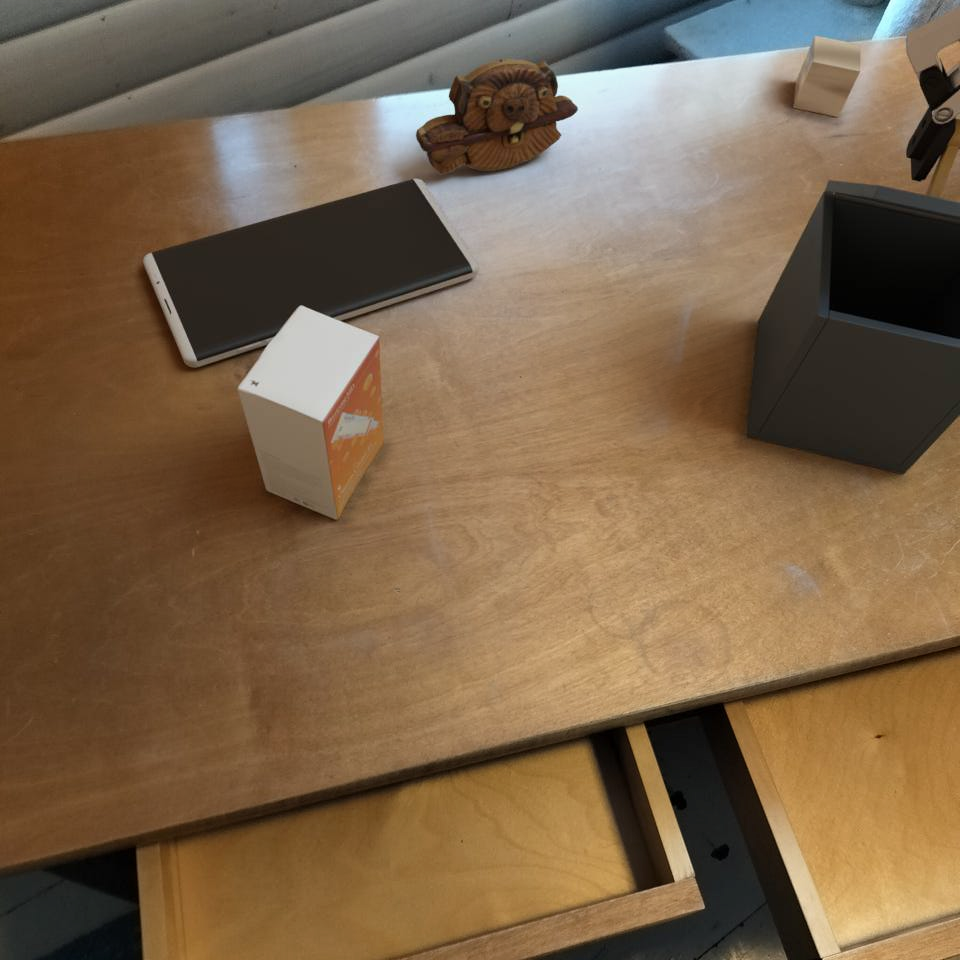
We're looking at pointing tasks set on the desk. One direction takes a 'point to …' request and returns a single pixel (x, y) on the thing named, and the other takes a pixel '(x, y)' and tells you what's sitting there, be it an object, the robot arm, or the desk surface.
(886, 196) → the lid
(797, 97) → the block
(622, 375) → the desk surface
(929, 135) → the robot arm
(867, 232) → the chest
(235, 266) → the smartphone
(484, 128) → the wooden carving
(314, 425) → the small box
